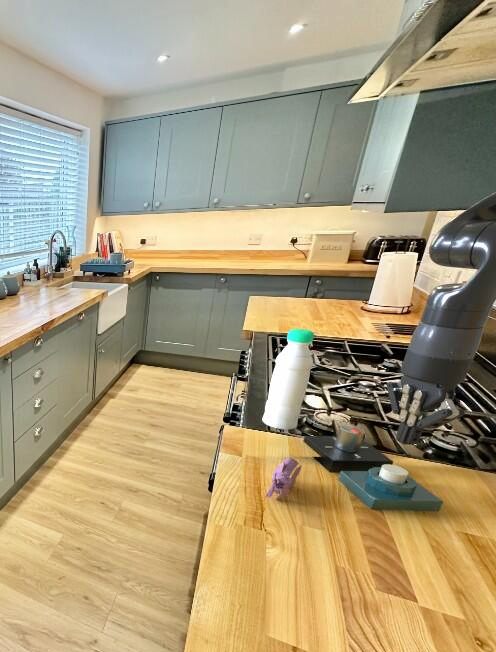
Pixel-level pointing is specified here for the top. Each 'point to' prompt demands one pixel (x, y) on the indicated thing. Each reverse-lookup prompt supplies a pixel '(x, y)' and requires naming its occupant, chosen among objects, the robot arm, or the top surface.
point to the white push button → (393, 474)
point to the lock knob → (349, 438)
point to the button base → (389, 492)
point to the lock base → (345, 455)
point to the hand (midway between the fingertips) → (405, 442)
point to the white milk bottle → (289, 381)
